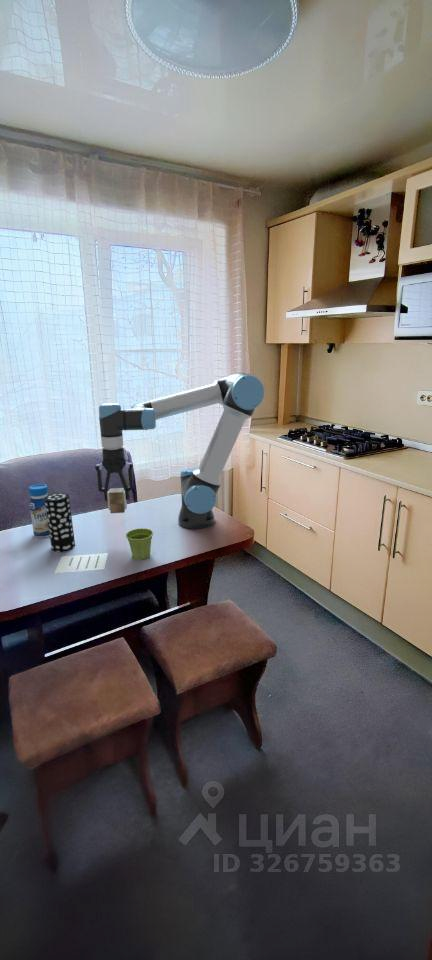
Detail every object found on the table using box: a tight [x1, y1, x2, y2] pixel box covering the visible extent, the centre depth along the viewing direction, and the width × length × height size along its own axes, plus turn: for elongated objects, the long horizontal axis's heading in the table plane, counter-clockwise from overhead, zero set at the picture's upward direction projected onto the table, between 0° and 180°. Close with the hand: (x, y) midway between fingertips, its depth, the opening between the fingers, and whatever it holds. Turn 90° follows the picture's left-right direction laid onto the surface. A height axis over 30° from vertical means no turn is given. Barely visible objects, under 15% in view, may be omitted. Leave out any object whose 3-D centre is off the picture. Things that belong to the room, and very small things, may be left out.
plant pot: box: [125, 527, 154, 561], centre depth 152 cm, size 9×9×9 cm
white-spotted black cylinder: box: [44, 492, 76, 553], centre depth 159 cm, size 8×8×20 cm
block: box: [108, 487, 126, 514], centre depth 161 cm, size 5×5×8 cm
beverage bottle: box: [28, 483, 50, 539], centre depth 171 cm, size 8×8×20 cm
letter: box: [54, 552, 109, 574], centre depth 149 cm, size 16×12×1 cm
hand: (117, 508), depth 162 cm, fingers closed on block, 5 cm apart
